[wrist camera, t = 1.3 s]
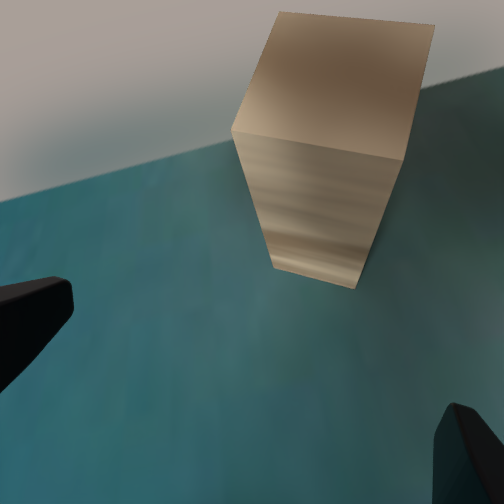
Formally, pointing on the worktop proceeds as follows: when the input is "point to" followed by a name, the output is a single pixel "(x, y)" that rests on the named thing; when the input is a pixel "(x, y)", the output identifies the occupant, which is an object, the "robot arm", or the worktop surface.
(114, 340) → the worktop surface
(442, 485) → the robot arm
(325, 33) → the maple block
